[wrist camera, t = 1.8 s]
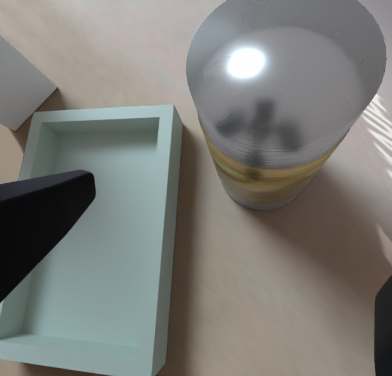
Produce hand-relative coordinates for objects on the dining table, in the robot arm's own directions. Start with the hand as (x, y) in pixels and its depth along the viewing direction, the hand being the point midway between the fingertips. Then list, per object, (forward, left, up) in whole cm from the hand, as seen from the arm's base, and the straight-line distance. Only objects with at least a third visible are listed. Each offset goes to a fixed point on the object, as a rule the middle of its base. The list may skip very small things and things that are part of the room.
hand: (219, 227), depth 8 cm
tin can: (+6, -2, -12) cm, 14 cm away
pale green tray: (+1, +11, -12) cm, 16 cm away
